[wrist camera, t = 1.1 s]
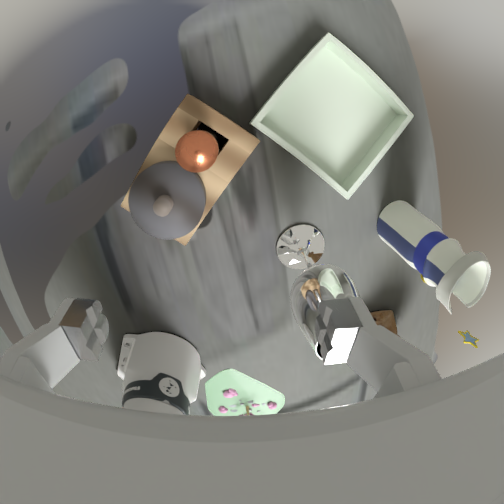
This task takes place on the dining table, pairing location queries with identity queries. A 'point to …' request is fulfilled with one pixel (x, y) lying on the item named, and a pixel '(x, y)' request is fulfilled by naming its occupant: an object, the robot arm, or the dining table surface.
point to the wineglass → (311, 277)
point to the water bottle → (435, 256)
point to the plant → (241, 395)
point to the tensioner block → (185, 174)
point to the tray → (334, 115)
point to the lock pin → (197, 150)
